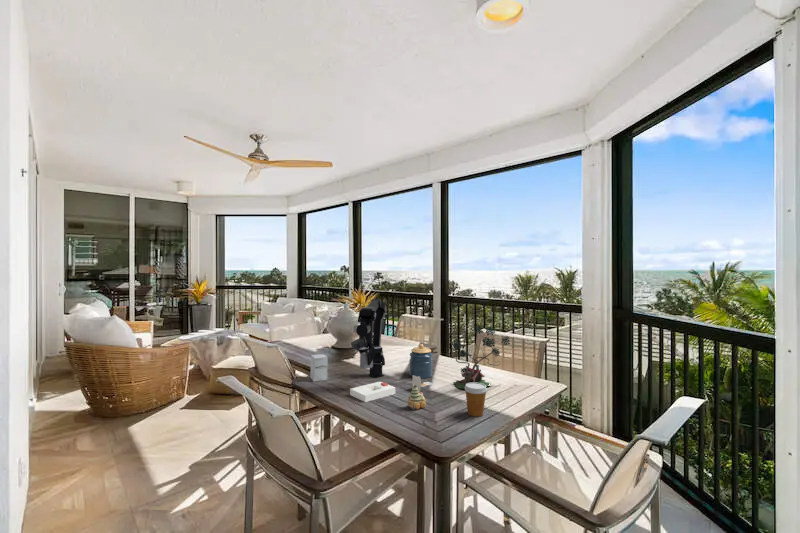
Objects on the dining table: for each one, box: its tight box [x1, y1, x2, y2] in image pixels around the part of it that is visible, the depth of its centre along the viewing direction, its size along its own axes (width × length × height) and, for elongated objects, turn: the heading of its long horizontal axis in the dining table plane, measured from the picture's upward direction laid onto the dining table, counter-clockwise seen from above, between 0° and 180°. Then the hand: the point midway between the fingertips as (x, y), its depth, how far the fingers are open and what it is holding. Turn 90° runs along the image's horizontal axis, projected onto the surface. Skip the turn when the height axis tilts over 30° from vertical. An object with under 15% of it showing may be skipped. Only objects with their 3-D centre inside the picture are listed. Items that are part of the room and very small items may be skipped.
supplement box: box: [310, 353, 329, 382], centre depth 209 cm, size 7×7×13 cm
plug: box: [359, 352, 373, 370], centre depth 196 cm, size 5×4×7 cm
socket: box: [349, 381, 396, 403], centre depth 187 cm, size 18×12×4 cm, turn 132°
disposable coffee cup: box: [463, 382, 488, 417], centre depth 165 cm, size 10×10×12 cm
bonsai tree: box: [452, 325, 511, 390], centre depth 201 cm, size 35×24×32 cm
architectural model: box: [411, 376, 427, 392], centre depth 194 cm, size 3×7×7 cm, turn 41°
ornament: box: [406, 385, 427, 410], centre depth 171 cm, size 8×6×10 cm
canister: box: [408, 343, 434, 379], centre depth 219 cm, size 13×13×18 cm
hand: (366, 364), depth 196 cm, fingers closed on plug, 4 cm apart
